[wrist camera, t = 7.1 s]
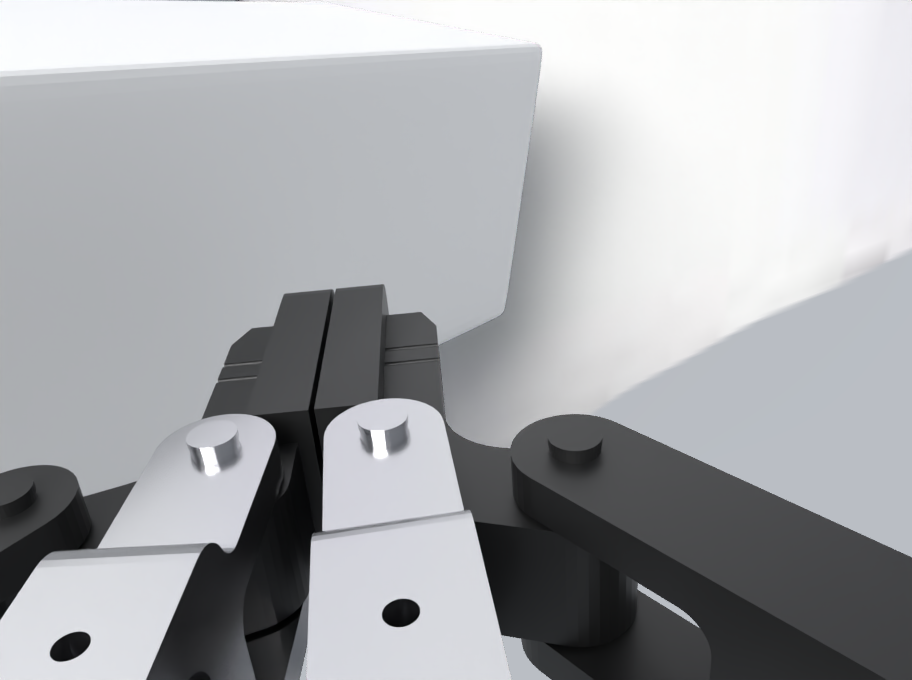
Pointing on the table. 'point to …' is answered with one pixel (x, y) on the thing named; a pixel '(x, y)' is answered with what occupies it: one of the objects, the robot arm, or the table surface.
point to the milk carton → (231, 198)
